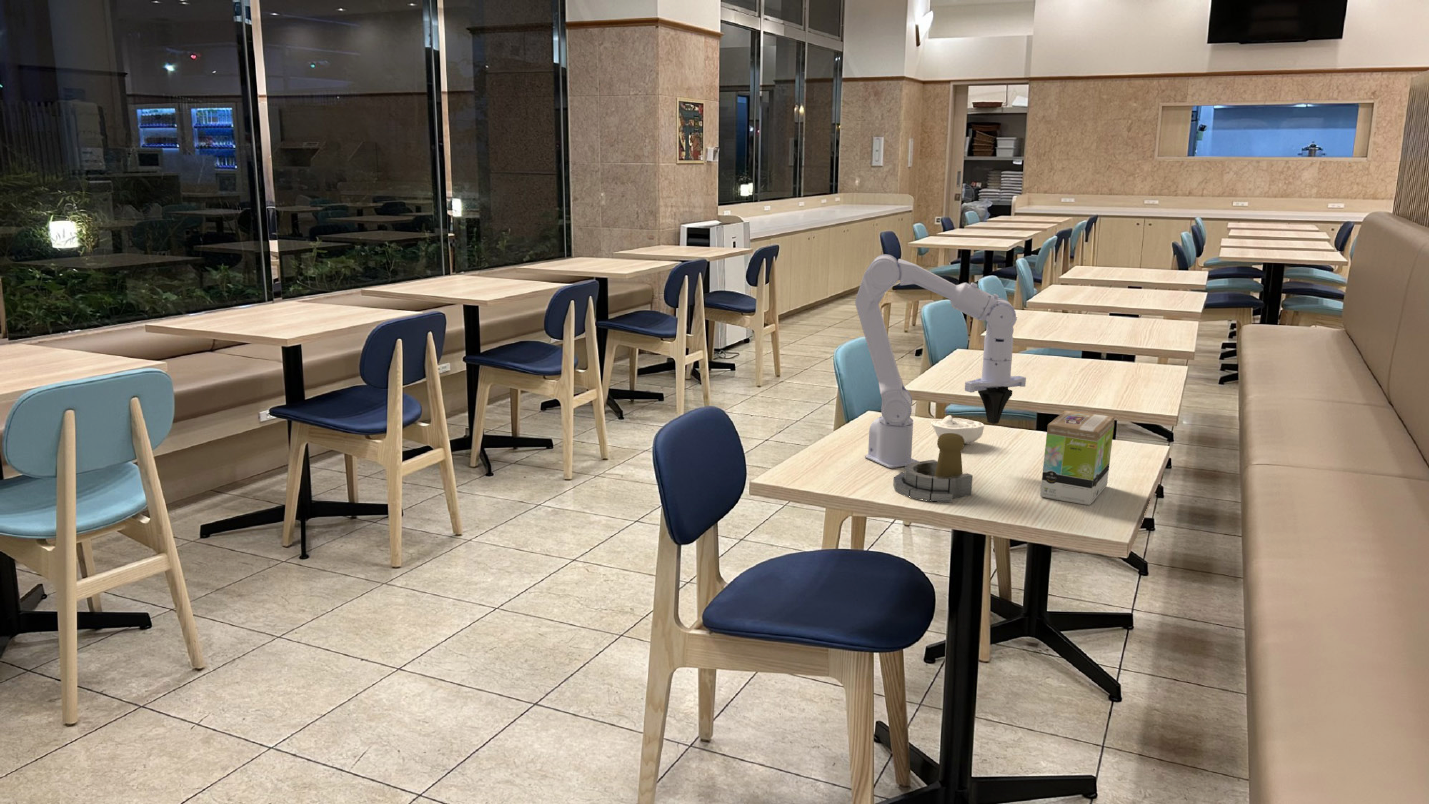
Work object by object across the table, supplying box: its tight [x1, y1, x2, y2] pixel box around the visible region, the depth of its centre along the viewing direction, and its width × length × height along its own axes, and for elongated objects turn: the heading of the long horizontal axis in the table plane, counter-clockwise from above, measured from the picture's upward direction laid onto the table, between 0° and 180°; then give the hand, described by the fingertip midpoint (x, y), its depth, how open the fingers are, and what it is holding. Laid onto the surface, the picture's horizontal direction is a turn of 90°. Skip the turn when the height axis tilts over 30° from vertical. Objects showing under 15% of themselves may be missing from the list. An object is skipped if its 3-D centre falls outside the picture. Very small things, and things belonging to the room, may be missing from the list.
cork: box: [935, 433, 965, 477], centre depth 206 cm, size 6×6×11 cm
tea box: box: [1039, 410, 1115, 506], centre depth 204 cm, size 15×10×15 cm, turn 149°
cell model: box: [930, 414, 985, 445], centre depth 239 cm, size 10×12×7 cm
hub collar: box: [892, 459, 973, 503], centre depth 205 cm, size 16×12×4 cm
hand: (992, 422), depth 219 cm, fingers closed
